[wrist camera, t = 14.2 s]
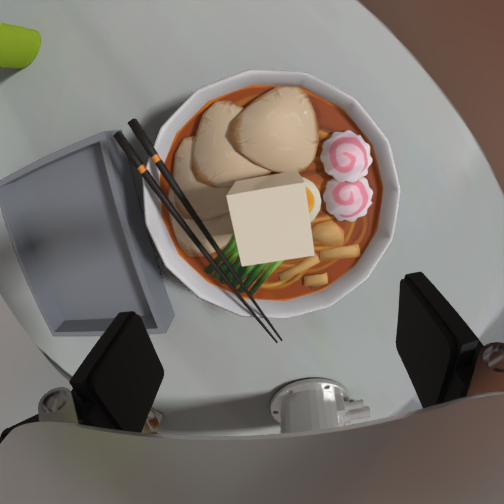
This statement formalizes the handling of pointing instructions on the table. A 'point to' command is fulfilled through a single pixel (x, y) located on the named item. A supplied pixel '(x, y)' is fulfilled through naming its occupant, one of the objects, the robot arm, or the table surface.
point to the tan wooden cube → (271, 218)
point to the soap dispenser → (18, 46)
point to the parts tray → (84, 239)
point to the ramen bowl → (263, 164)
